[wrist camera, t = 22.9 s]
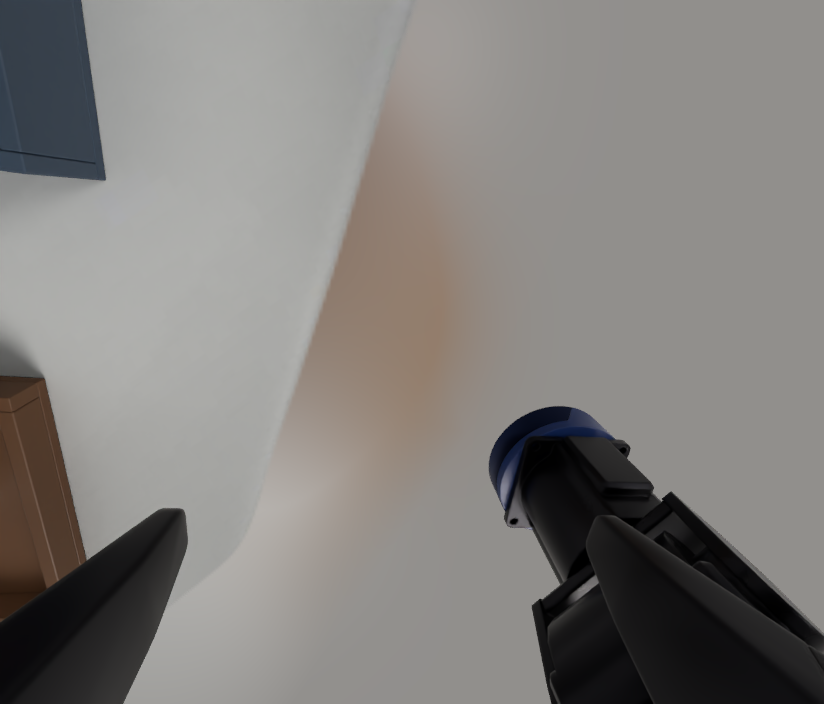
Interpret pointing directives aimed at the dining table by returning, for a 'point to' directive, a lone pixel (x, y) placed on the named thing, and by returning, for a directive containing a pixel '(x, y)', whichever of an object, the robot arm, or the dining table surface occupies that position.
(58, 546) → the tray
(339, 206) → the dining table surface
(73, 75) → the bin
